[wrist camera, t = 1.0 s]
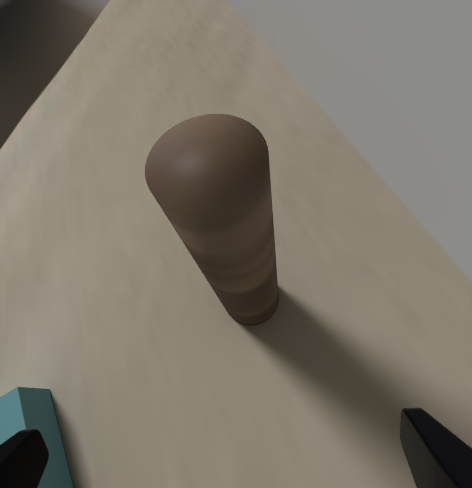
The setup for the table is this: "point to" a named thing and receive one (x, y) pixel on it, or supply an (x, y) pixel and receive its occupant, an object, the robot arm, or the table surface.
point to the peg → (221, 208)
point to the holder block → (36, 417)
